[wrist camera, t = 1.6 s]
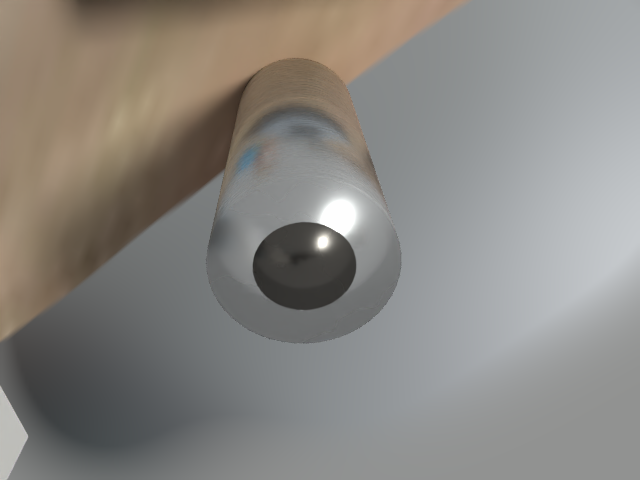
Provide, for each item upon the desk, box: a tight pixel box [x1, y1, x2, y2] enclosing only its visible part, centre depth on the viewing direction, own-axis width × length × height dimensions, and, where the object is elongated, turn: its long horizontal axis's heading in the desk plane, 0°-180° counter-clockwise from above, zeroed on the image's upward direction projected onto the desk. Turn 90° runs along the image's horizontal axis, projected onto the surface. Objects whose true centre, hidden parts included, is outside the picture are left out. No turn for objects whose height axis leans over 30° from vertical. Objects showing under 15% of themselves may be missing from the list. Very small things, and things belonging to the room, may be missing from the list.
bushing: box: [206, 58, 401, 343], centre depth 18 cm, size 4×4×11 cm
